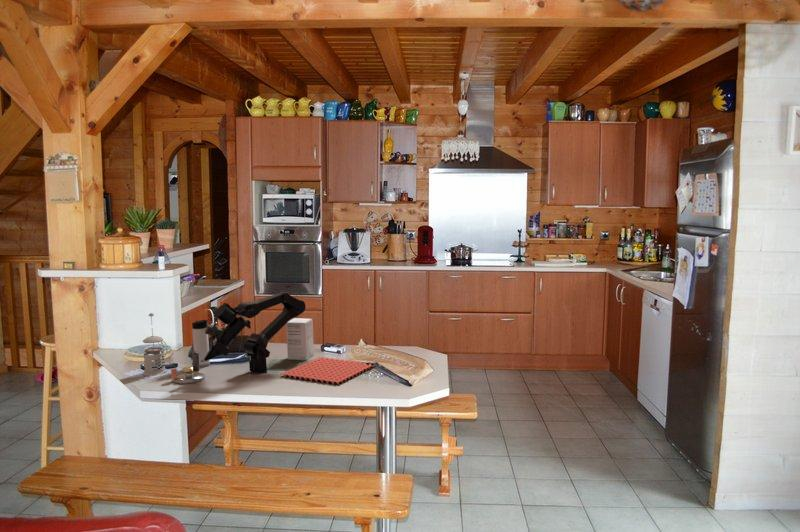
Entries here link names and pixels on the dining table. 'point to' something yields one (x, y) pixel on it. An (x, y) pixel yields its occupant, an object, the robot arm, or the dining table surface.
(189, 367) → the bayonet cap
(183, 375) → the post base
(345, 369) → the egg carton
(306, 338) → the supplement box
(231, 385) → the dining table surface
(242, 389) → the dining table surface
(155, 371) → the french press
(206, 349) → the travel mug
